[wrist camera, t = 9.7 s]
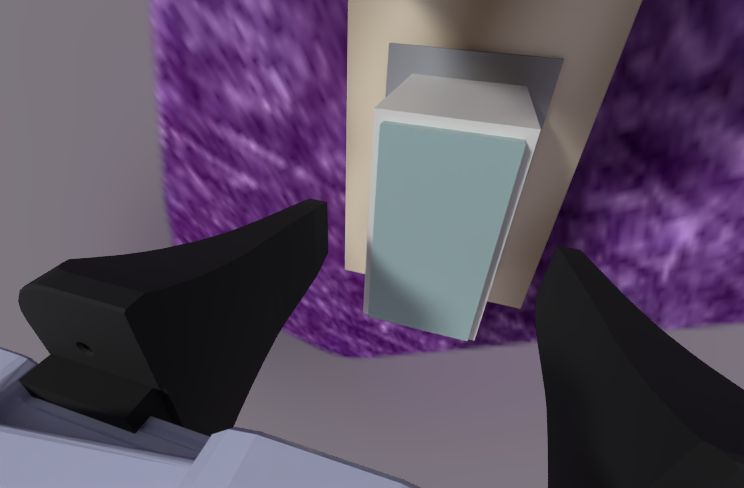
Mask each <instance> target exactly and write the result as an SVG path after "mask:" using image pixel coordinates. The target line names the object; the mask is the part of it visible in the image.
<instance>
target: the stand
mask: <svg viewBox="0 0 744 488" xmlns="http://www.w3.org/2000/svg"><path fill="white" fill-rule="evenodd" d="M641 2H642V0H348V56H347V140H346V224H345V270H350V271H354V272H359V273H363V274H365V270H366V250H367V231H368V212H369V192H370V173H371V153H372V134H373V115H374V107H376V106H377V105H378V104H379V103H380V102H381V101H382V100H383V99H384V98H386V97H387V96H388V95H389V94H390V93H391V92H392V91H393V90H395V89H396V88H397V87H398V86H399V85H400V84H401V83H402V82H403V81H405V80H406V79H407V78H408V77H409V76H410V75H411V74H418V75H427V76H436V77H446V78H455V79H464V80H474V81H483V82H492V83H502V84H511V85H520V86H527V87H528V91H529V94H530V97H531V100H532V103H533V106H534V109H535V113H536V116H537V119H538V122H539V125H540V128H541V131H540V134H539V137H538V140H537V143H536V146H535V150H534V153H533V156H532V159H531V162H530V166H529V169H528V172H527V175H526V178H525V181H524V185H523V188H522V191H521V194H520V197H519V201H518V204H517V207H516V210H515V213H514V216H513V220H512V223H511V226H510V229H509V232H508V236H507V239H506V242H505V245H504V248H503V251H502V255H501V258H500V261H499V264H498V267H497V270H496V274H495V277H494V280H493V283H492V286H491V290H490V293H489V296H488V299H487V301H488V302H492V303H497V304H501V305H506V306H510V307H514V308H519V309H521V306H522V304H523V301H524V299H525V296H526V294H527V291H528V289H529V286H530V284H531V281H532V279H533V276H534V274H535V271H536V268H537V266H538V263H539V261H540V258H541V256H542V253H543V251H544V248H545V246H546V243H547V241H548V238H549V236H550V233H551V230H552V228H553V225H554V223H555V220H556V218H557V215H558V213H559V210H560V208H561V205H562V203H563V200H564V198H565V195H566V192H567V190H568V187H569V185H570V182H571V180H572V177H573V175H574V172H575V170H576V167H577V165H578V162H579V160H580V157H581V154H582V152H583V149H584V147H585V144H586V142H587V139H588V137H589V134H590V132H591V129H592V127H593V124H594V122H595V119H596V116H597V114H598V111H599V109H600V106H601V104H602V101H603V99H604V96H605V94H606V91H607V89H608V86H609V84H610V81H611V78H612V76H613V73H614V71H615V68H616V66H617V63H618V61H619V58H620V56H621V53H622V51H623V48H624V46H625V43H626V40H627V38H628V35H629V33H630V30H631V28H632V25H633V23H634V20H635V18H636V15H637V13H638V10H639V8H640V5H641Z"/></svg>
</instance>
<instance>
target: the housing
mask: <svg viewBox="0 0 744 488" xmlns="http://www.w3.org/2000/svg"><path fill="white" fill-rule="evenodd" d="M540 131H541V128H540V125H539V122H538V119H537V116H536V113H535V109H534V106H533V103H532V100H531V97H530V94H529V91H528V87H527V86H520V85H511V84H502V83H492V82H483V81H474V80H464V79H455V78H446V77H436V76H427V75H418V74H411V75H410V76H409V77H408V78H407V79H406V80H405V81H403V82H402V83H401V84H400V85H399V86H398V87H397V88H396V89H395V90H393V91H392V92H391V93H390V94H389V95H388V96H387V97H386V98H384V99H383V100H382V101H381V102H380V103H379V104H378V105H377V106H376V107H374V115H373V134H372V153H371V173H370V192H369V212H368V231H367V250H366V270H365V289H364V308H363V313H364V314H368V317H371V318H375V319H379V320H383V321H387V322H391V323H395V324H399V325H403V326H407V327H411V328H415V329H420V330H424V331H428V332H432V333H436V334H440V335H444V336H448V337H452V338H456V339H460V340H464V341H468V339H470V340H475V337H476V334H477V331H478V328H479V325H480V321H481V318H482V315H483V312H484V309H485V305H486V302H487V299H488V296H489V293H490V290H491V286H492V283H493V280H494V277H495V274H496V270H497V267H498V264H499V261H500V258H501V255H502V251H503V248H504V245H505V242H506V239H507V236H508V232H509V229H510V226H511V223H512V220H513V216H514V213H515V210H516V207H517V204H518V201H519V197H520V194H521V191H522V188H523V185H524V181H525V178H526V175H527V172H528V169H529V166H530V162H531V159H532V156H533V153H534V150H535V146H536V143H537V140H538V137H539V134H540Z"/></svg>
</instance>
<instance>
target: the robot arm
mask: <svg viewBox="0 0 744 488" xmlns="http://www.w3.org/2000/svg"><path fill="white" fill-rule="evenodd" d="M327 254H328V220H327V202H324V201H319V200H313V199H308V200H305V201H303V202H300V203H298V204H295V205H293V206H291V207H288V208H286V209H284V210H282V211H279V212H277V213H275V214H272V215H270V216H268V217H265V218H263V219H261V220H258V221H256V222H253V223H251V224H248V225H245V226H243V227H240V228H238V229H235V230H232V231H229V232H226V233H223V234H220V235H217V236H214V237H210V238H207V239H203V240H200V241H196V242H191V243H187V244H182V245H178V246H173V247H169V248H164V249H158V250H152V251H146V252H139V253H132V254H125V255H116V256H105V257H93V258H81V259H69V260H67V261H65V262H63V263H61V264H60V265H58V266H57V267H55V268H53V269H52V270H51V271H48V272H47V273H45V274H43V275H42V276H40V277H38V278H37V279H35V280H34V281H32V282H30V283H29V284H27V285H25V286H24V287H23V288H22V289H21V290H20V293H19V300H18V302H19V305H20V309H21V311H22V313H23V315H24V316H25V318H26V320H27V321H28V323H29V324H30V326H31V327H32V328H33V330H34V331H35V333H36V334H37V336H38V337H39V339H40V340H41V341H42V343H43V344H44V346H45V347H46V349H47V350H48V351H49V353H50V354H51V355H49V356H48V357H47V358H46V359H44V360H43V361H42V362H41V363H40V364H38V363H37V362H35V361H34V360H32V359H31V358H29V357H27V356H25V355H22V354H19V353H16V352H13V351H11V350H8V349H4V348H2V347H0V488H420V487H418V486H416V485H414V484H411V483H410V482H407V481H405V480H403V479H400V478H397V477H394V476H391V475H388V474H385V473H382V472H379V471H376V470H373V469H371V468H368V467H365V466H361V465H358V464H356V463H352V462H349V461H347V460H344V459H341V458H338V457H335V456H332V455H329V454H326V453H323V452H320V451H317V450H314V449H311V448H308V447H305V446H302V445H299V444H296V443H293V442H290V441H287V440H284V439H281V438H278V437H275V436H272V435H269V434H266V433H263V432H260V431H254V430H249V429H244V428H238V427H234V424H235V422H236V420H237V417H238V415H239V413H240V411H241V408H242V406H243V404H244V402H245V400H246V397H247V395H248V393H249V391H250V389H251V387H252V384H253V382H254V380H255V378H256V376H257V374H258V372H259V370H260V368H261V366H262V364H263V362H264V360H265V358H266V356H267V354H268V352H269V351H270V349H271V347H272V345H273V343H274V341H275V339H276V337H277V335H278V333H279V332H280V330H281V329H282V327H283V325H284V324H285V322H286V321H287V319H288V318H289V316H290V315H291V313H292V312H293V310H294V309H295V308H296V306H297V305H298V303H299V302H300V300H301V299H302V297H303V296H304V294H305V293H306V291H307V290H308V288H309V287H310V285H311V284H312V282H313V281H314V279H315V278H316V276H317V275H318V273H319V271H320V269H321V267H322V264H323V262H324V260H325V258H326V256H327ZM535 327H536V334H537V341H538V348H539V354H540V361H541V368H542V374H543V381H544V388H545V396H546V406H547V430H548V431H547V432H548V488H744V390H743V389H742V388H740V387H739V386H737V385H736V384H734V383H733V382H731V381H730V380H728V379H727V378H725V377H724V376H723V375H721V374H720V373H718V372H717V371H715V370H714V369H712V368H711V367H709V366H708V365H707V364H705V363H704V362H703V361H701V360H700V359H698V358H697V357H696V356H694V355H693V354H692V353H690V352H689V351H688V350H687V349H685V348H684V347H683V346H681V345H680V344H679V343H678V342H676V341H675V340H674V339H673V338H671V337H670V336H669V335H667V334H666V333H665V332H664V331H663V330H662V329H660V328H659V327H658V326H657V325H656V324H654V323H653V322H652V321H651V320H650V319H649V318H648V317H647V316H646V315H645V314H643V313H642V312H641V311H640V310H639V309H638V308H637V307H636V306H635V305H634V304H633V303H632V302H631V301H630V300H629V299H627V298H626V297H625V296H624V295H623V294H622V293H621V292H620V291H619V290H618V288H617V287H616V286H615V285H614V284H613V283H612V282H611V281H610V280H609V279H608V278H607V277H606V276H605V275H604V274H603V273H602V272H601V271H600V270H599V269H598V268H597V267H596V266H595V264H594V263H593V262H592V261H591V260H590V259H589V258H588V257H587V256H586V255H585V254H584V253H583V252H581V251H580V250H578V249H572V248H567V247H562V246H557V247H556V250H555V252H554V254H553V257H552V259H551V262H550V264H549V266H548V269H547V271H546V274H545V276H544V278H543V281H542V283H541V286H540V288H539V290H538V293H537V295H536V303H535ZM233 427H234V428H233Z"/></svg>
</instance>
